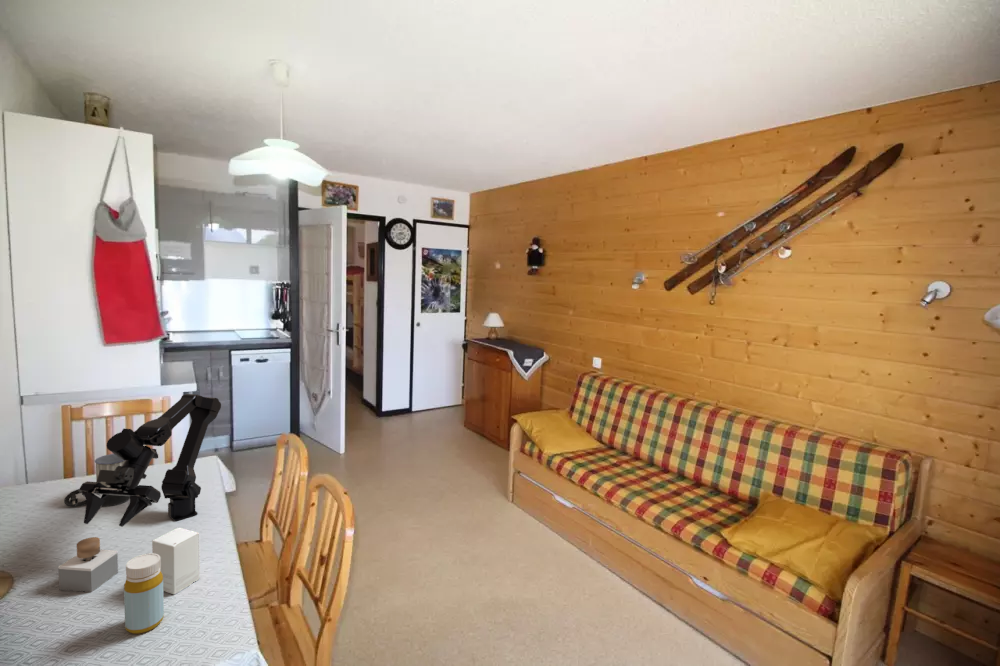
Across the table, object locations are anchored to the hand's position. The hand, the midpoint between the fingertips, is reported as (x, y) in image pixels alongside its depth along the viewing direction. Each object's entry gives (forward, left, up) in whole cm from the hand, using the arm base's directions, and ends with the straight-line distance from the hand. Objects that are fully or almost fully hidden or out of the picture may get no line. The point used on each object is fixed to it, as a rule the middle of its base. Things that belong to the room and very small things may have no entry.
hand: (103, 524), depth 127 cm
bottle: (0, +30, -13) cm, 32 cm away
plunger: (+4, +3, -11) cm, 12 cm away
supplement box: (-10, +19, -13) cm, 25 cm away
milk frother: (-9, -46, -13) cm, 49 cm away
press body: (+4, +3, -12) cm, 13 cm away
